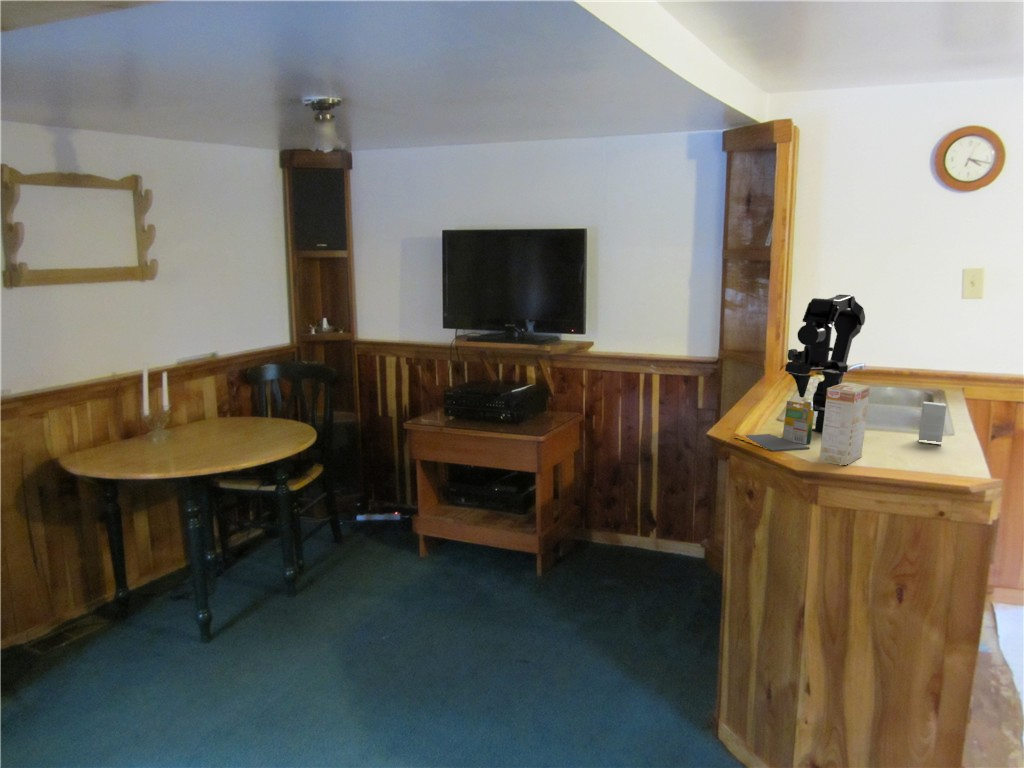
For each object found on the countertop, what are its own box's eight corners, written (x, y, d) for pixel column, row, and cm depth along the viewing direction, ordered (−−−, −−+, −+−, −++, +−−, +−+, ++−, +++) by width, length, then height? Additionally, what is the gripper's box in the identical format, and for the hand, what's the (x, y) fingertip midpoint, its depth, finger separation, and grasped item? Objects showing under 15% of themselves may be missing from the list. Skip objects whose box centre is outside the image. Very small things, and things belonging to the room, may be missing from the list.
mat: (769, 435, 227) (769, 434, 227) (809, 449, 213) (809, 447, 213) (733, 437, 222) (733, 436, 222) (772, 451, 208) (772, 449, 208)
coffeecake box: (835, 451, 211) (843, 381, 208) (862, 457, 207) (871, 385, 204) (817, 461, 200) (826, 387, 197) (846, 466, 195) (855, 391, 192)
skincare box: (940, 443, 229) (945, 403, 227) (941, 445, 226) (947, 405, 224) (917, 440, 232) (922, 401, 230) (918, 442, 228) (923, 403, 226)
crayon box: (811, 443, 220) (815, 403, 218) (805, 445, 218) (810, 404, 216) (787, 438, 225) (791, 399, 223) (782, 439, 223) (786, 400, 221)
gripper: (821, 339, 231) (816, 390, 233) (773, 339, 223) (768, 392, 225) (851, 343, 221) (845, 397, 223) (802, 344, 213) (797, 400, 216)
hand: (813, 396), depth 222 cm, fingers open, 9 cm apart
